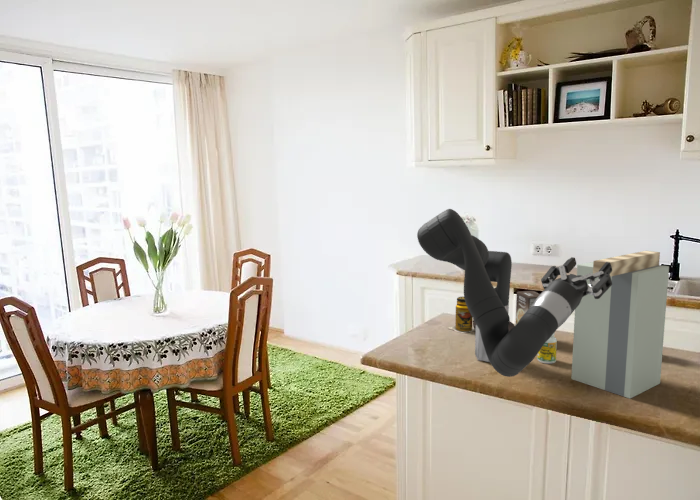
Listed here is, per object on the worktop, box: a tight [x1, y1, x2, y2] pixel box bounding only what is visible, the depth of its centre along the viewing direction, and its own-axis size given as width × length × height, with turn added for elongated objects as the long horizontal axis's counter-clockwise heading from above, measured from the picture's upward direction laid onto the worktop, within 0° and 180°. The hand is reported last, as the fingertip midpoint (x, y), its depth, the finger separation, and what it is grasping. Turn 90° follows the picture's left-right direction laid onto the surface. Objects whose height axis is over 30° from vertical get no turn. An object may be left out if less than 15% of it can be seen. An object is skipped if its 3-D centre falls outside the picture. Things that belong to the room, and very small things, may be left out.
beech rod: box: [592, 250, 661, 277], centre depth 131 cm, size 26×4×4 cm, turn 126°
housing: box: [571, 261, 670, 399], centre depth 140 cm, size 16×16×32 cm
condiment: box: [447, 296, 476, 334], centre depth 191 cm, size 7×8×12 cm
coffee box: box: [515, 290, 541, 325], centre depth 178 cm, size 9×6×16 cm
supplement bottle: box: [536, 331, 558, 365], centre depth 158 cm, size 5×5×10 cm
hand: (591, 262), depth 121 cm, fingers open, 8 cm apart
